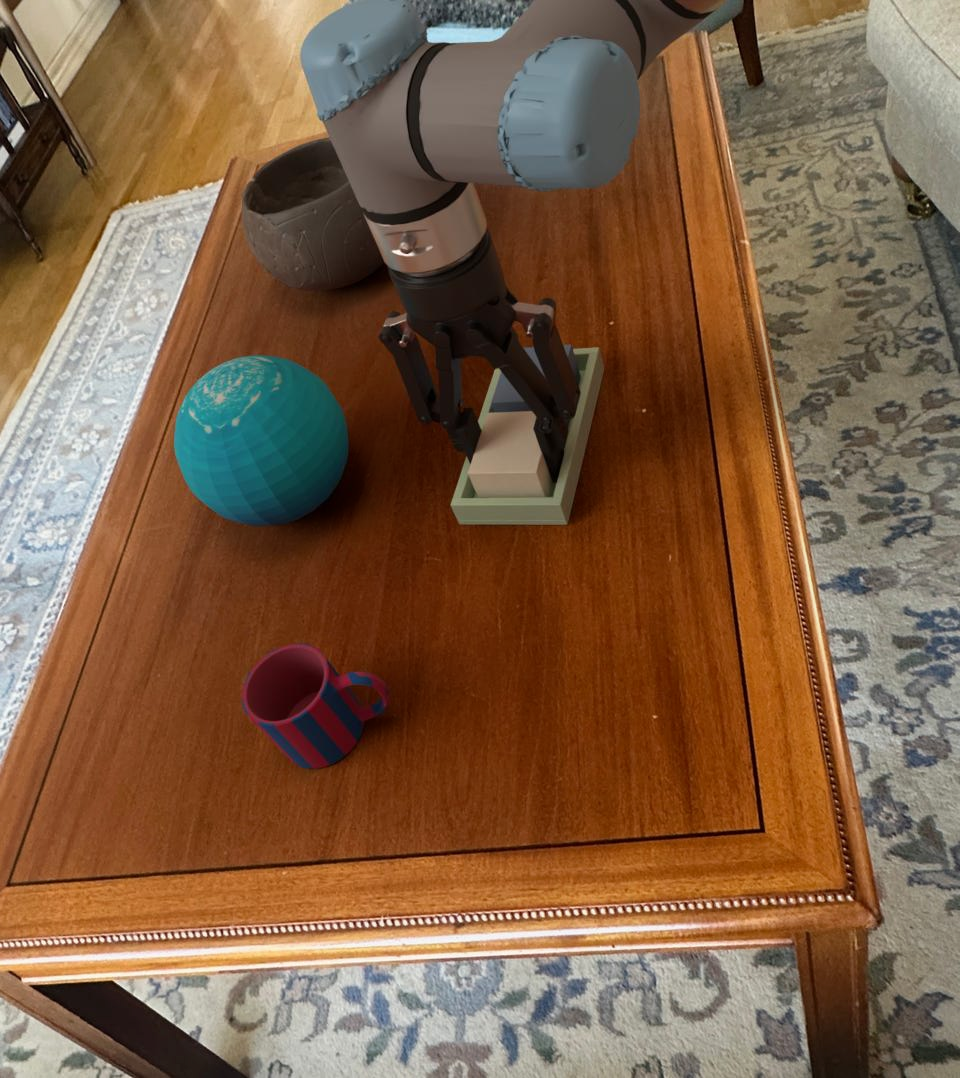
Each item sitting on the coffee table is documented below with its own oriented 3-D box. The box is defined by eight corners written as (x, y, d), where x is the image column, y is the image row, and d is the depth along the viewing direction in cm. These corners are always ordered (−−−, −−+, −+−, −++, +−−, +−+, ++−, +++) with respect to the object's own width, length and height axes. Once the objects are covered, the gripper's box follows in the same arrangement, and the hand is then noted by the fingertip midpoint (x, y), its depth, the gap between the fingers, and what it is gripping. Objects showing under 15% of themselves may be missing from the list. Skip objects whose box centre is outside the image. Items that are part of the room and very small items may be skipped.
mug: (294, 691, 77) (255, 645, 72) (412, 686, 74) (380, 638, 69) (273, 770, 73) (230, 726, 68) (396, 768, 70) (361, 723, 65)
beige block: (499, 444, 87) (486, 412, 84) (564, 442, 85) (553, 409, 82) (481, 504, 83) (467, 473, 80) (548, 504, 81) (536, 472, 78)
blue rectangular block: (519, 380, 92) (508, 348, 89) (581, 377, 90) (571, 343, 87) (503, 434, 88) (490, 402, 85) (567, 432, 86) (556, 399, 83)
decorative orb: (380, 425, 95) (316, 302, 84) (366, 544, 85) (293, 423, 74) (240, 455, 98) (161, 340, 87) (212, 573, 89) (120, 461, 78)
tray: (507, 374, 94) (499, 353, 92) (604, 368, 91) (599, 346, 89) (459, 524, 84) (449, 505, 82) (567, 525, 80) (560, 504, 78)
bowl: (254, 285, 118) (202, 193, 109) (372, 205, 122) (331, 110, 113) (323, 340, 107) (271, 242, 97) (451, 250, 110) (413, 148, 101)
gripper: (298, 292, 68) (410, 505, 85) (558, 267, 62) (624, 504, 78) (333, 227, 73) (433, 442, 90) (580, 197, 66) (637, 436, 83)
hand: (522, 471), depth 84 cm, fingers closed on beige block, 6 cm apart
